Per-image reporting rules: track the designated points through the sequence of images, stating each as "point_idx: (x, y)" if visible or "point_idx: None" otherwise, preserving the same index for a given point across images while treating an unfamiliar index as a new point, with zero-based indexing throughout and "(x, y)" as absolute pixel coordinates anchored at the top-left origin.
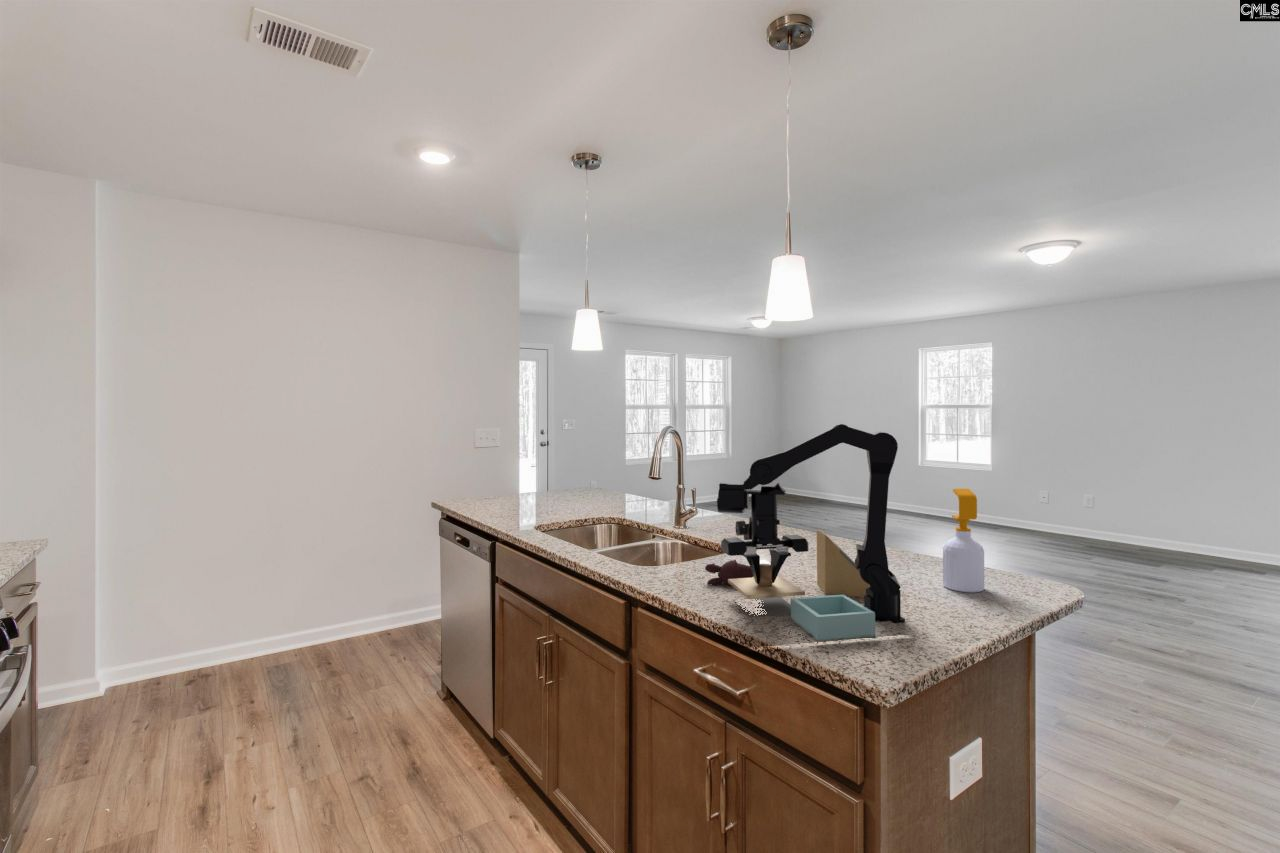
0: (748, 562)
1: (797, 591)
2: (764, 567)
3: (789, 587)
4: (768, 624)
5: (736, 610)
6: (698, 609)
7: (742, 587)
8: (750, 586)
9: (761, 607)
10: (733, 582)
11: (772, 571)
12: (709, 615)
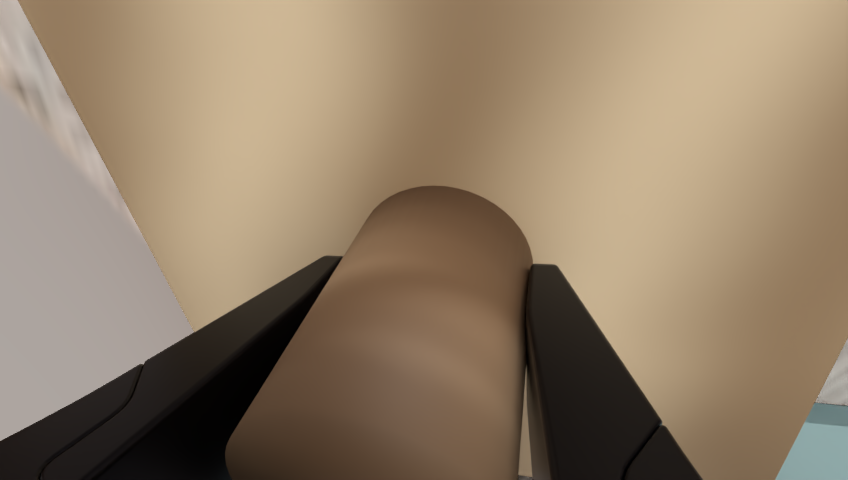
0: (12, 450)
1: None
2: None
3: (689, 398)
4: None
5: None
6: (20, 73)
7: (201, 278)
8: (276, 274)
9: None
10: (80, 90)
11: (531, 433)
12: (116, 194)
